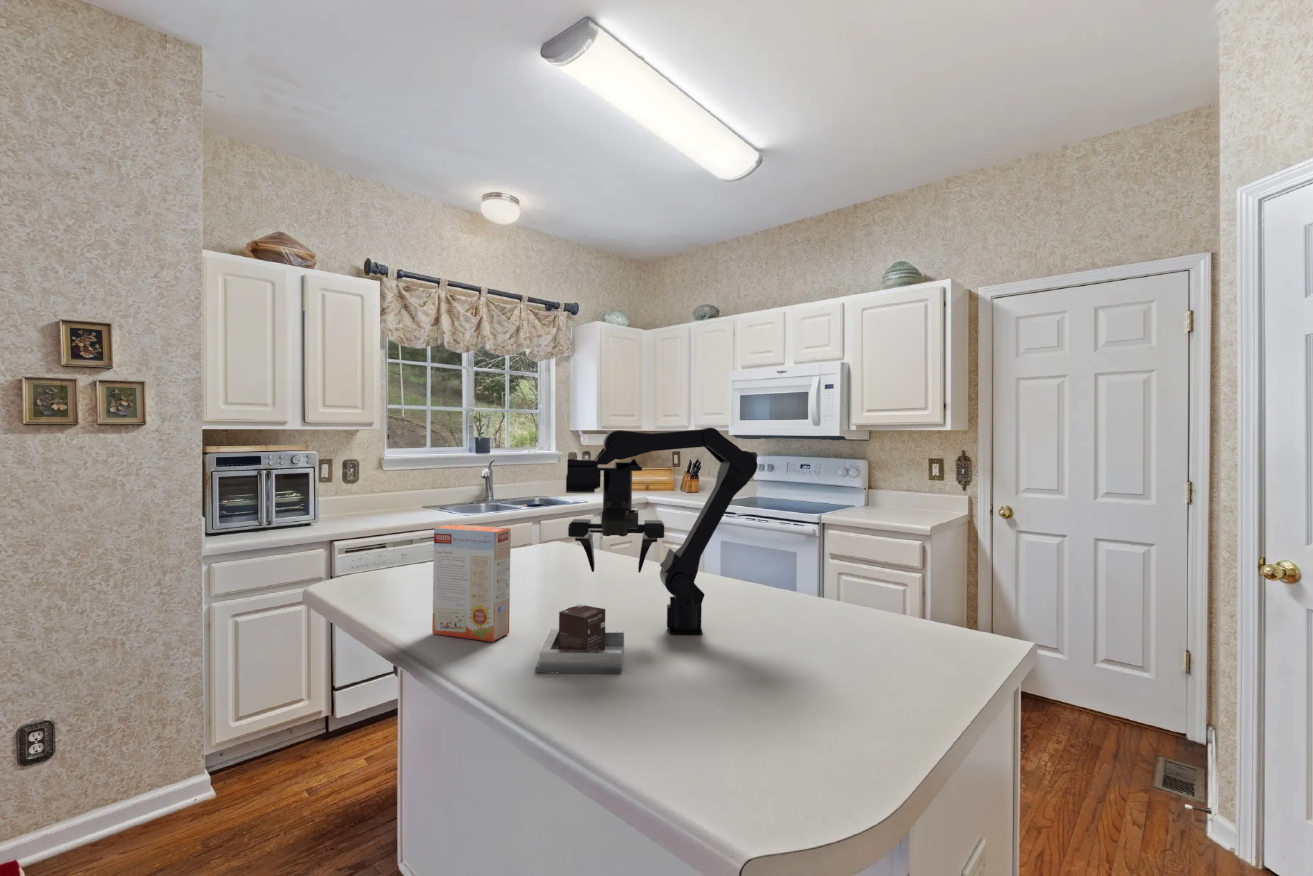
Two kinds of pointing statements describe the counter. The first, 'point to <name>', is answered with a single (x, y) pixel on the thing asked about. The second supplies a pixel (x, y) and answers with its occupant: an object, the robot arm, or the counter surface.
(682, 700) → the counter surface
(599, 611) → the box
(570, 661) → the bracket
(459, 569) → the cracker box
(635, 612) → the counter surface
